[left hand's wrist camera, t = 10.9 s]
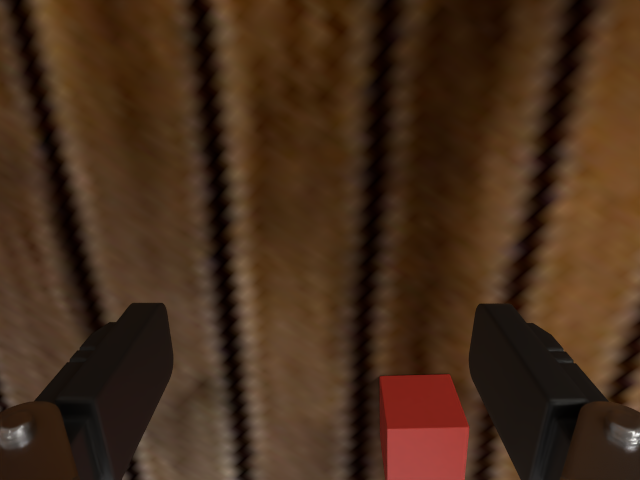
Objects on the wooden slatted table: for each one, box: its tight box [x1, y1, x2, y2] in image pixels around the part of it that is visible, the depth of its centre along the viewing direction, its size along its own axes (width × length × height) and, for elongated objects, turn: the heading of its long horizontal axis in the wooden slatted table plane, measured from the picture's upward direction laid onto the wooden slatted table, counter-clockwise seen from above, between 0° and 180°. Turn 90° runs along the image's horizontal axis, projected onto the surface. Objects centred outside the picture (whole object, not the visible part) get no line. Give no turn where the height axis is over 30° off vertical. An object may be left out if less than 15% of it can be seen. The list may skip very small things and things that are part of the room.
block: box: [379, 374, 469, 480], centre depth 27 cm, size 4×5×4 cm
